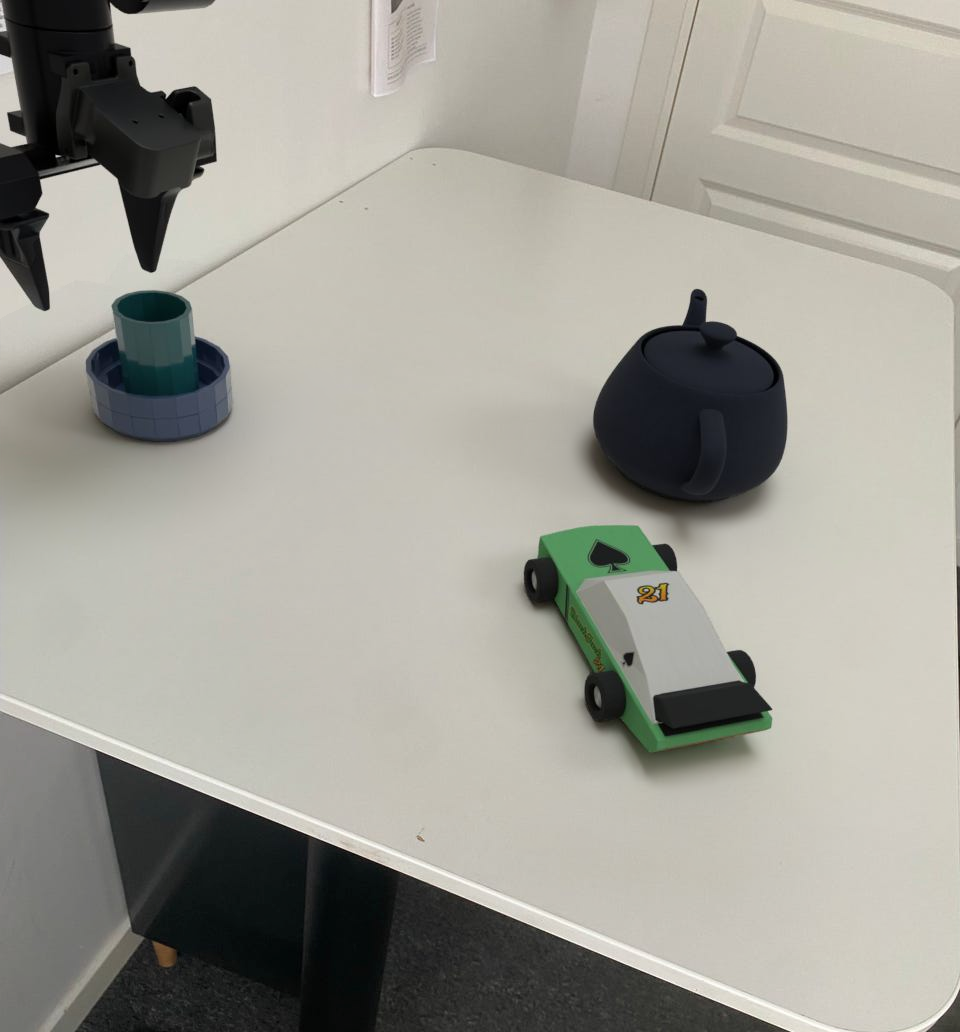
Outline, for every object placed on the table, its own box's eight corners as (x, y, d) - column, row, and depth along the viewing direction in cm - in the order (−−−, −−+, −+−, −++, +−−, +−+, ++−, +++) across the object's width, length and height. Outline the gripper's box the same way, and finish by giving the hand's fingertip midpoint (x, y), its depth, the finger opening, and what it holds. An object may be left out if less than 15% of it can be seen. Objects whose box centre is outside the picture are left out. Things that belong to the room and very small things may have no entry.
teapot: (786, 566, 70) (850, 423, 62) (581, 533, 70) (617, 385, 62) (751, 401, 88) (796, 273, 80) (588, 375, 88) (617, 244, 80)
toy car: (642, 551, 70) (659, 495, 66) (777, 749, 57) (807, 693, 53) (512, 566, 66) (522, 509, 63) (624, 780, 54) (645, 723, 50)
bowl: (75, 436, 71) (65, 388, 69) (117, 369, 79) (110, 324, 76) (216, 452, 72) (212, 406, 69) (244, 384, 80) (241, 340, 77)
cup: (117, 416, 73) (101, 318, 67) (138, 381, 77) (124, 286, 71) (190, 425, 73) (180, 328, 68) (207, 389, 77) (199, 295, 72)
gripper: (21, 76, 45) (73, 377, 55) (278, 37, 57) (281, 288, 68) (-133, 21, 48) (-56, 315, 58) (142, -4, 61) (165, 241, 71)
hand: (98, 288), depth 64 cm, fingers open, 9 cm apart
